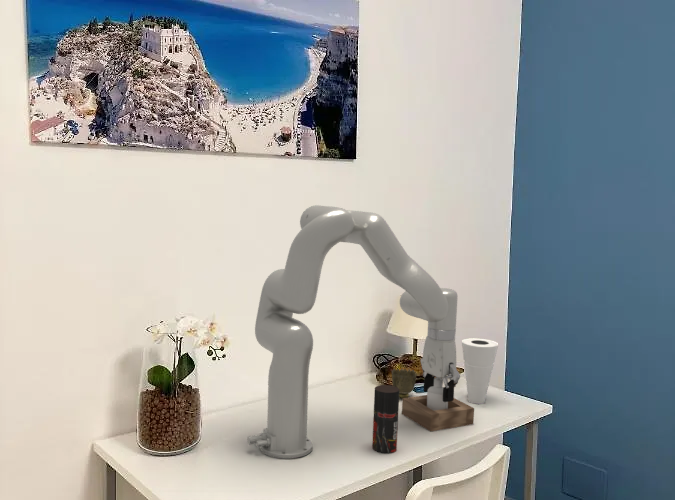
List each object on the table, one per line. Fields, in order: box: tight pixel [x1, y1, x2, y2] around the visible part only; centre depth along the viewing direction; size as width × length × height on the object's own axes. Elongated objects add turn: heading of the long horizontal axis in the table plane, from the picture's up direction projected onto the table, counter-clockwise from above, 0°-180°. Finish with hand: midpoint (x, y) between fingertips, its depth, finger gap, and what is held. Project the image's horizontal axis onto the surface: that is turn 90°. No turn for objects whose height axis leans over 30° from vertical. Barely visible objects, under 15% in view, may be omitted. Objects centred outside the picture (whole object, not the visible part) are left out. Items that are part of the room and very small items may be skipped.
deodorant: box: [371, 384, 400, 455], centre depth 162 cm, size 6×6×15 cm
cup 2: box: [461, 337, 499, 405], centre depth 199 cm, size 11×11×18 cm
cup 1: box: [391, 368, 417, 400], centre depth 201 cm, size 8×7×8 cm
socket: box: [401, 394, 475, 432], centre depth 184 cm, size 14×14×4 cm
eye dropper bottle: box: [426, 377, 448, 410], centre depth 183 cm, size 4×6×12 cm
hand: (438, 395), depth 184 cm, fingers open, 8 cm apart
